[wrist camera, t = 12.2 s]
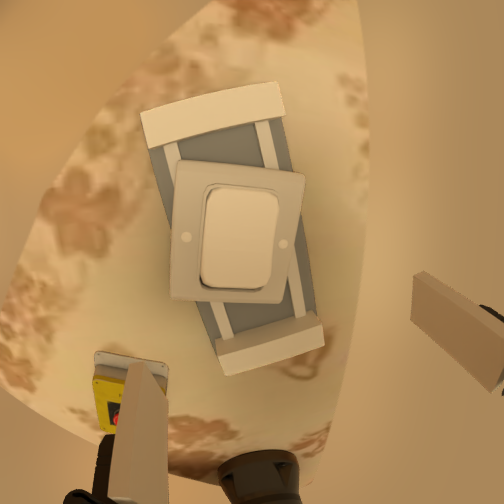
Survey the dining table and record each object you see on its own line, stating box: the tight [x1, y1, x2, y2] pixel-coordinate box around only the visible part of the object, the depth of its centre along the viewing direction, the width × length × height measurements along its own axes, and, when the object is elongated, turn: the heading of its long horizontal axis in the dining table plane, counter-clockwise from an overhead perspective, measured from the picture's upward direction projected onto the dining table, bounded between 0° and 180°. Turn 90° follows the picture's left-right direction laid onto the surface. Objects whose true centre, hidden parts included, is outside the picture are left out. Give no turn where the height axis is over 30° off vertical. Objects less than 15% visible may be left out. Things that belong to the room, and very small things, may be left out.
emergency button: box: [92, 351, 168, 434], centre depth 30 cm, size 9×4×15 cm
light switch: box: [170, 159, 305, 304], centre depth 25 cm, size 11×4×13 cm
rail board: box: [140, 81, 325, 376], centre depth 26 cm, size 27×12×4 cm, turn 13°
